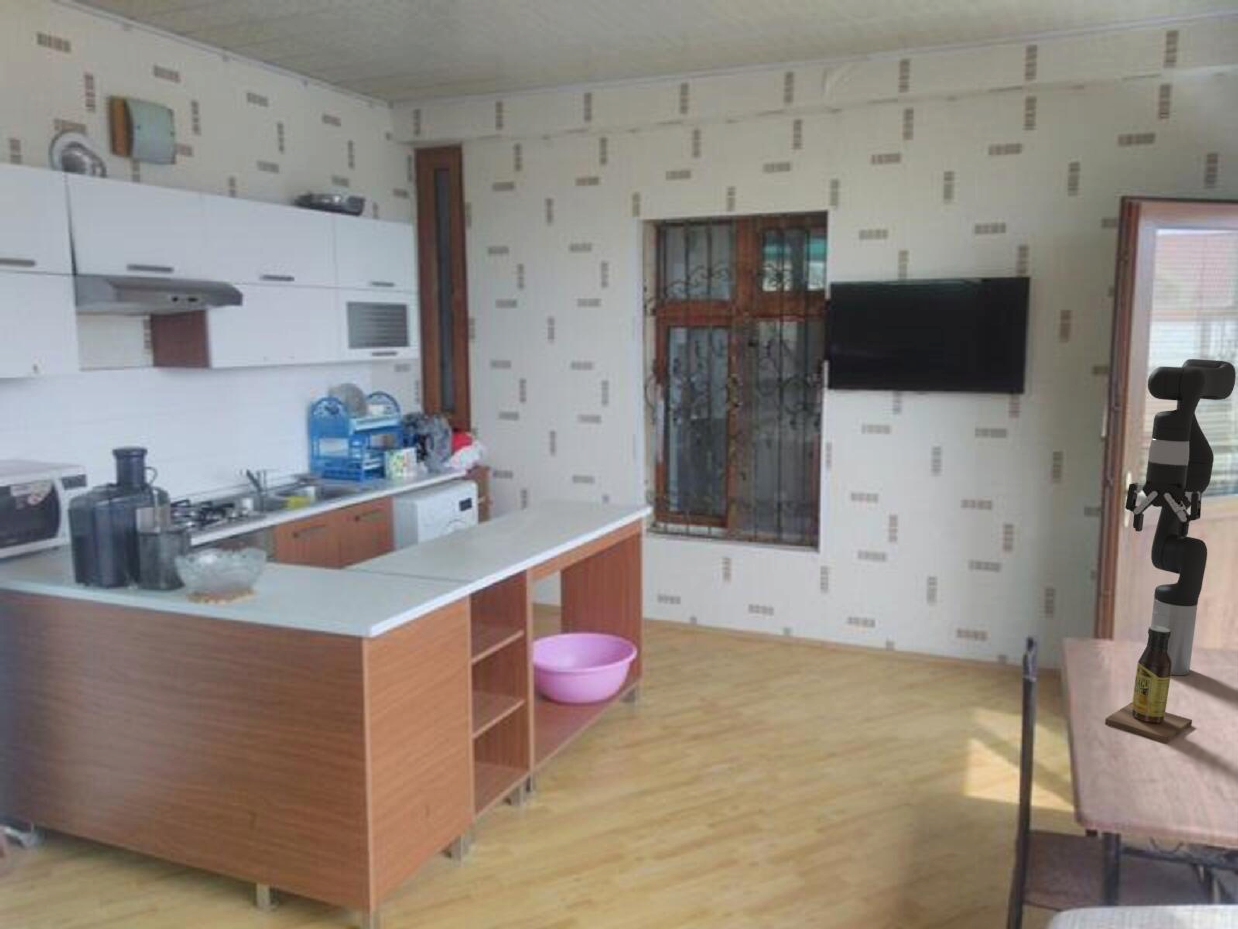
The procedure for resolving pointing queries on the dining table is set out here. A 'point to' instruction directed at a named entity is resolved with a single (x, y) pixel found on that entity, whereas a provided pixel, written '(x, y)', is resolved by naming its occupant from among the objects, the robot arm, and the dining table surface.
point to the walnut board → (1149, 724)
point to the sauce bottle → (1153, 677)
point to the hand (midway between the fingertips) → (1159, 534)
